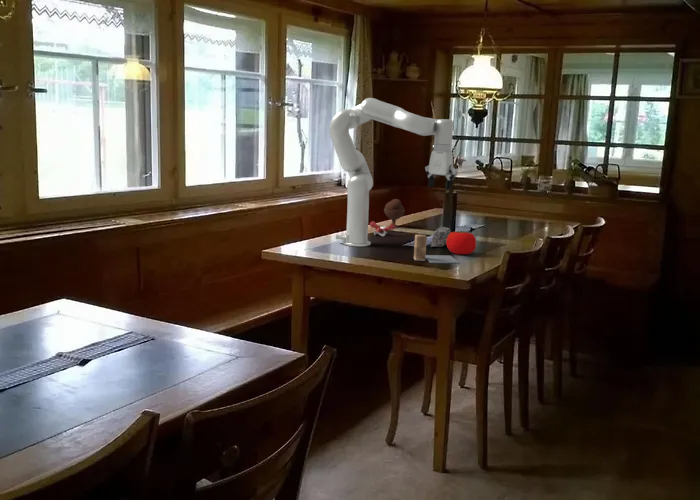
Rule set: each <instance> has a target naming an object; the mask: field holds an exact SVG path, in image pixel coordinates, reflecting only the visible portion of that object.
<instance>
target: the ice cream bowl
mask: <svg viewBox="0 0 700 500" xmlns="http://www.w3.org/2000/svg"><path fill="white" fill-rule="evenodd" d="M383 212H384V214H385V215H386V217H387V218H388V219H390V220H391V223H392V224H393V223H394V226H395V229H399V227H400V226H399V225H397V224H396V222H397V220H399V219H401V218H402V217H403V216H404V215H405V212H406V210H405V208H404V206H403V205H402V202H401V200H400V199H398V198H393V199H392V200H391V201H388V202H387V203H386V204H385V205H384V208H383Z"/></svg>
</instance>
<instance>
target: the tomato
mask: <svg viewBox="0 0 700 500" xmlns="http://www.w3.org/2000/svg"><path fill="white" fill-rule="evenodd" d="M445 246H446V247H447V250H448V251H449V252H451V253H453V254H455V255H471V254H472V253H473V252H474V251H475V250H476V246H477V241H476V237H475V235H474V234H473V233H472V232H471V233H470V232H467V231H465V230H460V231H459V230H457V231H450V234H449V235H448V237H447V241H446V245H445Z"/></svg>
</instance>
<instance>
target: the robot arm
mask: <svg viewBox="0 0 700 500" xmlns="http://www.w3.org/2000/svg"><path fill="white" fill-rule="evenodd" d="M371 120H374V121H376V122H380V123H383V124H386V125H389V126H392V127H394V128H398V129H401V130H405V131H408V132H410V133H414V134H416V135H419V136H423V137H426V136H434V142H433V145H432V148H433V150H432V151H431V154H430V157H429V164H428V165H427V166H425V167H424V169H425V173H426V175H427V178H428V188H432V187H433V188H434V187H435V180H436V179H435V176H444V177H445V178H446V179H447V180H446V181H445V190H446V191H447V190H450V191H451V190H452V187H453V181H454V180H455V178H456V176H457V174H458V172H459V171H458V170H457V168H455V167H454V158H453V157H454V156H453V152H452V145H453V133H454V121H453V120H452V119H447V118H445V119H444V118H439V119H438V118H437V119H436V118H431V117H425V116H422V115H419V114H415V113H412V112H409V111H407V110H405V109H404V108H402V107H401V106H400V107H399V106H397V105H394V104H391V103H387V102H385V101H383V100H382V101H381V100H379V99H377V98H374V97H367V98H364V100H362V102H361V103H360V104H357V105H356V106H353V107H351V108H347V109H346V108H345V109H342V110H339V111H337V112H336V113H335V114H334V115H333V117H332V119H331V120H330V123H329V129H328V130H329V135H330V139H331V142H332V145H333V147H334V150H335V153H336V156H337V158H338V161H339V163H340V167H341V168H342V170H343V171H344V172H347V174H348V176H349V179H348V182H347V189H346V192H347V205H346V206H347V208H346V209H347V210H346V211H347V213H346V232H345V233H344V234H335V240H338V241H339V240H340V241H341V240H342V244H343V245H345V246H350V247H369V246H371V241H369V240H368V235H369V234H368V233H369V231H368V230H369V229H368V228H369V224H368V223H369V211H370V210H369V209H370V208H369V207H370V191H371V190H372V188H373V185H374V179H373V177H372V174H371V170H370V169H369V166H368V163H367V160H366V159H365V156H364V155H363V153H362V152H360V151H359V150H358V149H357V148H356V147H355V144H354V142H353V141H354V140H353V138H352V137H351V134H350V130H352V129H354V128H356V127H358V126H361V125H363V124H366V123H367V122H370V121H371Z"/></svg>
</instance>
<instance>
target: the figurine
mask: <svg viewBox="0 0 700 500" xmlns="http://www.w3.org/2000/svg"><path fill="white" fill-rule="evenodd" d="M368 226H370V228H372V229H375V230H376V231H375V230H374V232H373V235H374V236H377V235H379V236H381V237H385V236H386V234H387V233H388V231H393V230H395V229H396V228H395V226H394V223H393V224H392V222H391V223H390V225H388V226H387V227H386V225H384V226H380V225H378V224H377V222H375V221H374V220H371V221H369V222H368Z"/></svg>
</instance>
